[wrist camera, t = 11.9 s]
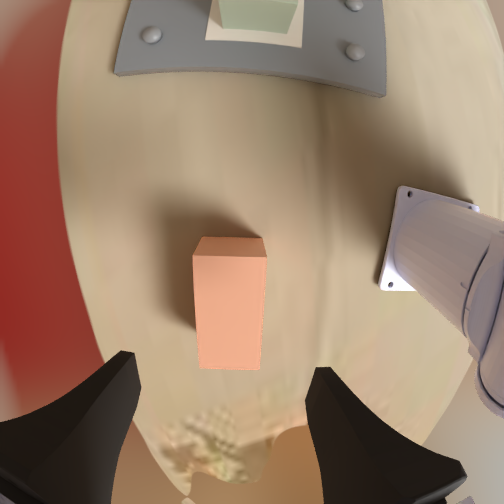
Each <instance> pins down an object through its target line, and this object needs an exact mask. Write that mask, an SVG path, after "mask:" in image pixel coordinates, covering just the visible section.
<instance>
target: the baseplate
mask: <svg viewBox="0 0 504 504" xmlns="http://www.w3.org/2000/svg"><path fill="white" fill-rule="evenodd" d="M184 71H213V72H237V73H251V74H262V75H271V76H279V77H287V78H293V79H300V80H306V81H311V82H317V83H322V84H327V85H332V86H336V87H340V88H345V89H349V90H353V91H357V92H361V93H364V94H368V95H371V96H375V97H378V98H381V97H383V96H386V39H385V24H384V12H383V2H382V0H298V6H297V9H296V11H295V14H294V16H293V19H292V22H291V24H290V27H289V30H288V32H287V34H282V33H275V32H266V31H255V30H242V29H223V26H222V20H221V14H220V7H219V1H218V0H132V1H131V4H130V7H129V10H128V14H127V17H126V21H125V24H124V28H123V32H122V36H121V40H120V44H119V49H118V53H117V58H116V63H115V68H114V74H116V75H118V76H119V77H120V76H128V75H137V74H147V73H161V72H184Z"/></svg>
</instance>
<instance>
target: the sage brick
mask: <svg viewBox="0 0 504 504" xmlns="http://www.w3.org/2000/svg"><path fill="white" fill-rule="evenodd" d="M218 1H219V7H220V14H221V20H222V26H223V29H242V30H255V31H266V32H275V33H282V34H287V32H288V30H289V27H290V24H291V22H292V19H293V16H294V14H295V11H296V9H297V6H298V0H218Z"/></svg>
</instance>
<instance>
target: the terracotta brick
mask: <svg viewBox="0 0 504 504" xmlns="http://www.w3.org/2000/svg"><path fill="white" fill-rule="evenodd" d="M192 258H193V282H194V301H195V316H196V330H197V343H198V354H199V365H200V368H209V369H235V370H259V369H260V356H261V342H262V328H263V313H264V298H265V282H266V266H267V255H266V251H265V247H264V243H263V239H262V238H241V237H202V238H201V240H200V242H199V244H198V245H197V247H196V249H195V251H194V253H193V255H192Z"/></svg>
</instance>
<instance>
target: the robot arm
mask: <svg viewBox="0 0 504 504" xmlns="http://www.w3.org/2000/svg"><path fill="white" fill-rule="evenodd" d="M408 191H410V196H409V197H408V195H407V193H408ZM468 207H469V209H468ZM389 282H391V284H390V285H389V286H388V284H389ZM378 286H379V287H380V289H382V290H396V291H417V292H418V293H419V294H420V295H421V296H422V297H424V298H425V299H426V300H427V301H428V302H429V303H430V304H431V305H432V306H434V307H435V308H436V309H437V310H438V311H439V312H440V313H441V314H442V315H443V316H444V317H445V318H447V319H448V320H449V321H450V322H451V323H452V324H453V325H454V326H455V327H456V328H457V329H458V330H459V331H460V332H461V333H462V334H463V335H464V336H465V337H466V338H467V339H468V341H469V349H468V353H469V354H470V355H471V356H472V357H473V358H474V359H475V360H476V361H477V363H478V364H477V366H476V370H475V380H474V381H475V387H476V390H477V393H478V395H479V397H480V399H481V400H482V402H483V403H484V404H485V406H486V407H487V408H488V409H489V410H490V411H492V412H493V413H494V414H496V415H498V416H500V417H502V418H504V221H501V220H499V219H496V218H493V217H491V216H488V215H485V214H482V213H479V207H478V206H477V205H474V204H471V203H468V202H464V201H461V200H458V199H454V198H451V197H447V196H443V195H439V194H436V193H432V192H428V191H424V190H420V189H416V188H411V187H407V186H400V187H399V188H398V190H397V194H396V201H395V207H394V213H393V219H392V224H391V229H390V234H389V239H388V244H387V249H386V253H385V257H384V262H383V266H382V270H381V274H380V278H379V282H378ZM140 391H141V384H140V379H139V374H138V369H137V364H136V359H135V353H132V352H127V351H120V352H118V353H117V354H116V355H115V356H113V357H112V358H111V359H110V360H109V361H108V362H106V363H105V364H104V365H103V366H102V367H101V368H100V369H98V370H97V371H96V372H95V373H93V374H92V375H91V376H90V377H88V378H87V379H86V380H85V381H83V382H82V383H81V384H79V385H78V386H77V387H75V388H74V389H73V390H71V391H70V392H68V393H67V394H65V395H64V396H62V397H61V398H59V399H57V400H55V401H54V402H52V403H50V404H48V405H46V406H44V407H42V408H40V409H38V410H35V411H33V412H31V413H29V414H26V415H23V416H21V417H18V418H15V419H11V420H8V421H4V422H0V504H111V496H112V489H113V482H114V476H115V471H116V466H117V461H118V457H119V454H120V450H121V447H122V444H123V442H124V439H125V437H126V434H127V431H128V429H129V426H130V423H131V421H132V418H133V416H134V413H135V410H136V408H137V404H138V400H139V396H140ZM305 404H306V413H307V420H308V425H309V429H310V432H311V436H312V440H313V444H314V447H315V451H316V455H317V458H318V462H319V467H320V472H321V479H322V487H323V497H324V504H447V502H446V500H445V497H446V496H447V495H449V494H450V493H451V492H453V491H454V490H455V489H457V488H458V487H459V486H460V485H461V484H463V483H464V481H465V480H466V478H467V474H466V473H465V471H464V469H463V467H462V465H461V463H460V461H458V460H455V459H452V458H449V457H446V456H443V455H440V454H437V453H435V452H433V451H431V450H428V449H426V448H424V447H422V446H420V445H418V444H416V443H414V442H413V441H411V440H409V439H408V438H406V437H404V436H403V435H401V434H400V433H398V432H397V431H395V430H394V429H393V428H391V427H390V426H389V425H387V424H386V423H385V422H383V421H382V420H381V419H380V418H379V417H377V416H376V415H375V414H374V413H373V412H372V411H371V410H370V409H369V408H368V407H367V406H366V405H365V404H363V403H362V402H361V400H360V399H359V398H358V397H357V396H356V395H355V394H354V393H353V392H352V391H351V390H350V389H349V388H348V387H347V385H346V384H345V383H344V382H343V381H342V380H341V379H340V378H339V376H338V375H337V374H336V373H335V372H334V371H333V370H332V368H331V367H316V369H315V372H314V375H313V378H312V381H311V384H310V387H309V390H308V393H307V396H306V399H305ZM457 504H475V503H474V501H473V499H472V497H471V496H469V497H467V498H466V499H464V500H462V501H460V502H459V503H457Z"/></svg>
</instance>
